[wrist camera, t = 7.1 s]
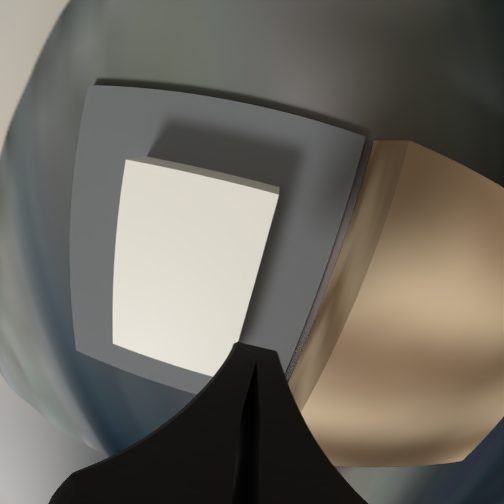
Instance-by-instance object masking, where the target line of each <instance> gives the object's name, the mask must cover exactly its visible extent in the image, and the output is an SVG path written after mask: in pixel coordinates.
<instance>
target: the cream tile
mask: <svg viewBox="0 0 504 504" xmlns="http://www.w3.org/2000/svg"><path fill="white" fill-rule="evenodd" d="M279 188H280V187H277V186H273V185H270V184H266V183H262V182H258V181H254V180H250V179H246V178H242V177H238V176H234V175H230V174H226V173H222V172H217V171H213V170H209V169H204V168H200V167H195V166H191V165H186V164H181V163H177V162H172V161H167V160H162V159H157V158H152V157H139V158H133V159H126V161H125V168H124V174H123V181H122V188H121V196H120V204H119V212H118V222H117V232H116V244H115V258H114V277H113V344H115V345H118V346H120V347H123V348H126V349H128V350H131V351H134V352H137V353H139V354H142V355H145V356H148V357H151V358H154V359H157V360H160V361H163V362H166V363H169V364H172V365H175V366H178V367H181V368H185V369H188V370H191V371H195V372H198V373H202V374H205V375H209V376H212V377H213V376H214V375H215V374H216V372H217V371H218V370H219V368H220V367H221V366H222V364H223V363H224V361H225V360H226V358H227V357H228V355H229V353H230V351H231V349H232V347H233V344H234V343H236V342H238V340H239V337H240V333H241V330H242V326H243V323H244V319H245V316H246V312H247V309H248V305H249V302H250V298H251V294H252V291H253V287H254V284H255V280H256V277H257V273H258V269H259V266H260V262H261V259H262V255H263V251H264V248H265V244H266V241H267V237H268V233H269V230H270V226H271V222H272V219H273V215H274V211H275V208H276V204H277V200H278V197H279Z"/></svg>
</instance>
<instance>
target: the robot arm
mask: <svg viewBox="0 0 504 504" xmlns="http://www.w3.org/2000/svg"><path fill="white" fill-rule="evenodd" d="M49 504H368V503H367V502H366V501H365V500H364V499H363V498H362V497H361V496H360V495H359V494H358V493H357V492H356V491H355V490H354V489H353V488H352V487H351V486H350V485H349V484H348V482H347V481H346V480H345V479H344V478H343V477H342V475H341V474H340V473H339V472H338V471H337V470H336V468H335V467H334V466H333V464H332V463H331V462H330V460H329V459H328V458H327V456H326V455H325V453H324V452H323V450H322V449H321V447H320V446H319V444H318V443H317V441H316V440H315V438H314V436H313V435H312V433H311V431H310V429H309V428H308V426H307V424H306V422H305V420H304V418H303V416H302V414H301V412H300V410H299V408H298V406H297V404H296V402H295V399H294V397H293V395H292V392H291V390H290V387H289V385H288V382H287V380H286V377H285V374H284V371H283V368H282V365H281V362H280V358H279V355H278V353H277V351H275V350H270V349H266V348H262V347H257V346H253V345H249V344H245V343H241V342H236V343H234V344H233V347H232V349H231V351H230V353H229V355H228V357H227V358H226V360H225V361H224V363H223V364H222V366H221V367H220V368H219V370H218V371H217V372H216V374H215V375H214V376H213V377H212V379H211V380H210V381H209V382H208V383H207V385H206V386H205V387H204V388H203V389H202V390H201V391H200V392H199V393H198V394H197V395H196V396H195V397H194V398H193V399H192V400H191V401H190V402H189V403H188V404H187V405H186V406H185V407H184V408H183V409H182V410H180V411H179V412H178V413H177V414H176V415H175V416H173V417H172V418H171V419H170V420H168V421H167V422H166V423H164V424H163V425H162V426H160V427H159V428H158V429H156V430H155V431H154V432H152V433H151V434H149V435H148V436H146V437H145V438H143V439H142V440H140V441H138V442H136V443H135V444H133V445H131V446H129V447H128V448H126V449H124V450H122V451H121V452H119V453H117V454H115V455H113V456H111V457H109V458H107V459H105V460H102V461H100V462H98V463H95V464H93V465H91V466H88V467H86V468H83V469H81V470H78V471H76V472H74V473H72V474H71V475H70V476H69V477H68V478H67V479H66V480H65V481H64V482H63V483H62V484H61V486H60V487H59V488H58V489H57V491H56V492H55V493H54V495H53V496H52V498H51V500H50V502H49Z"/></svg>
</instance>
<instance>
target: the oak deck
mask: <svg viewBox="0 0 504 504" xmlns="http://www.w3.org/2000/svg"><path fill="white" fill-rule="evenodd" d="M288 385H289V387H290V390H291V392H292V395H293V397H294V399H295V402H296V404H297V406H298V408H299V410H300V412H301V414H302V416H303V418H304V420H305V422H306V424H307V426H308V428H309V429H310V431H311V433H312V435H313V436H314V438H315V440H316V441H317V443H318V444H319V446H320V447H321V449H322V450H323V452H324V453H325V455H326V456H327V458H328V459H329V460H330V462H331V463H332V464H333V466H343V467H405V466H421V465H432V464H442V463H450V462H457V461H462V460H463V459H464V458H465V457H466V456H467V455H468V454H470V453H471V452H472V451H473V449H474V448H475V447H476V446H477V445H478V444H479V443H480V442H481V441H482V440H483V439H484V438H485V437H486V436H487V435H488V434H489V433H490V431H491V430H492V429H493V428H494V427H495V426H496V425H497V423H498V422H499V421H500V420H501V419H502V418H503V416H504V188H503V187H501V186H500V185H498V184H496V183H495V182H493V181H491V180H489V179H488V178H486V177H484V176H482V175H480V174H479V173H477V172H475V171H473V170H471V169H469V168H467V167H465V166H463V165H461V164H460V163H458V162H456V161H454V160H451V159H449V158H447V157H445V156H443V155H441V154H439V153H437V152H435V151H432V150H430V149H428V148H426V147H424V146H421V145H419V144H417V143H414V142H412V141H410V140H374V142H373V146H372V150H371V153H370V157H369V161H368V164H367V168H366V171H365V175H364V178H363V182H362V185H361V188H360V192H359V195H358V198H357V202H356V205H355V208H354V211H353V214H352V218H351V221H350V224H349V227H348V230H347V233H346V236H345V239H344V242H343V245H342V248H341V251H340V254H339V256H338V259H337V262H336V265H335V268H334V270H333V273H332V276H331V279H330V281H329V284H328V287H327V290H326V292H325V295H324V298H323V300H322V303H321V305H320V308H319V310H318V313H317V316H316V318H315V321H314V323H313V326H312V328H311V331H310V333H309V335H308V338H307V340H306V343H305V345H304V347H303V350H302V352H301V355H300V357H299V359H298V362H297V364H296V366H295V368H294V371H293V373H292V375H291V378H290V380H289V382H288Z"/></svg>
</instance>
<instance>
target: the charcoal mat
mask: <svg viewBox="0 0 504 504" xmlns="http://www.w3.org/2000/svg"><path fill="white" fill-rule="evenodd" d="M365 138H366V136H363V135H360V134H357V133H354V132H351V131H348V130H345V129H342V128H339V127H336V126H332V125H329V124H326V123H322V122H319V121H316V120H312V119H309V118H305V117H301V116H298V115H294V114H290V113H286V112H282V111H278V110H274V109H270V108H265V107H261V106H256V105H252V104H247V103H242V102H237V101H232V100H227V99H221V98H216V97H210V96H203V95H197V94H190V93H183V92H175V91H167V90H158V89H148V88H136V87H122V86H102V85H88V89H87V93H86V98H85V103H84V108H83V113H82V118H81V124H80V130H79V136H78V143H77V150H76V157H75V166H74V175H73V185H72V198H71V215H70V286H71V303H72V316H73V327H74V336H75V344H76V350H77V351H79V352H81V353H83V354H86V355H88V356H90V357H92V358H95V359H97V360H100V361H102V362H104V363H107V364H109V365H112V366H114V367H117V368H119V369H122V370H125V371H127V372H130V373H133V374H135V375H138V376H141V377H144V378H147V379H149V380H152V381H155V382H158V383H161V384H164V385H167V386H170V387H174V388H177V389H180V390H183V391H187V392H190V393H194V394H198V393H199V392H200V391H201V390H202V389H203V388H204V387H205V386H206V385H207V383H208V382H209V381H210V380H211V379H212V376H209V375H205V374H202V373H198V372H195V371H191V370H188V369H185V368H181V367H178V366H175V365H172V364H169V363H166V362H163V361H160V360H157V359H154V358H151V357H148V356H145V355H142V354H139V353H137V352H134V351H131V350H128V349H126V348H123V347H120V346H118V345H115V344H113V277H114V258H115V244H116V232H117V222H118V212H119V204H120V196H121V188H122V181H123V174H124V168H125V161H126V159H133V158H139V157H152V158H157V159H162V160H167V161H172V162H177V163H181V164H186V165H191V166H195V167H200V168H204V169H209V170H213V171H217V172H222V173H226V174H230V175H234V176H238V177H242V178H246V179H250V180H254V181H258V182H262V183H266V184H270V185H273V186H277V187H280V188H279V197H278V200H277V204H276V208H275V211H274V215H273V219H272V222H271V226H270V230H269V233H268V237H267V241H266V244H265V248H264V251H263V255H262V259H261V262H260V266H259V269H258V273H257V277H256V280H255V284H254V287H253V291H252V294H251V298H250V302H249V305H248V309H247V312H246V316H245V319H244V323H243V326H242V330H241V333H240V337H239V340H238V342H241V343H245V344H249V345H253V346H257V347H262V348H266V349H270V350H275V351H277V353H278V355H279V358H280V362H281V365H282V368H283V371H284V374H285V372H286V370H287V367H288V365H289V363H290V360H291V358H292V355H293V353H294V350H295V348H296V346H297V343H298V341H299V338H300V336H301V333H302V331H303V328H304V325H305V323H306V320H307V318H308V315H309V312H310V310H311V307H312V304H313V302H314V299H315V296H316V294H317V291H318V288H319V285H320V283H321V280H322V277H323V274H324V271H325V269H326V266H327V263H328V260H329V257H330V254H331V251H332V248H333V245H334V242H335V239H336V236H337V233H338V230H339V227H340V224H341V221H342V217H343V214H344V211H345V208H346V205H347V201H348V198H349V195H350V191H351V188H352V185H353V181H354V178H355V174H356V171H357V167H358V164H359V160H360V156H361V153H362V149H363V145H364V142H365Z"/></svg>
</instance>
